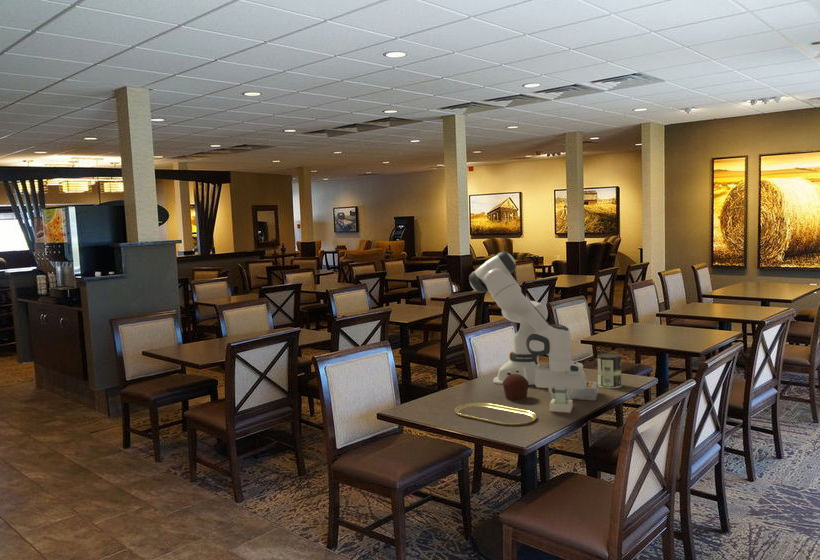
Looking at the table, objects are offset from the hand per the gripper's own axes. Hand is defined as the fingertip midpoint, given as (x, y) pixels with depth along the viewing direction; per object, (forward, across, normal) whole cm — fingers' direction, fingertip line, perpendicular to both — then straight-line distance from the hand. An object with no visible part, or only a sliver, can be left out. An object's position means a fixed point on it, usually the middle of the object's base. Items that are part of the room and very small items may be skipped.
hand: (560, 399), depth 258 cm
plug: (+4, 0, 0) cm, 4 cm away
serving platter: (+5, -24, -14) cm, 28 cm away
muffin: (+4, -21, +13) cm, 25 cm away
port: (+4, +6, +22) cm, 23 cm away
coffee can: (+4, +16, +42) cm, 45 cm away
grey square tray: (+4, 0, 0) cm, 4 cm away
